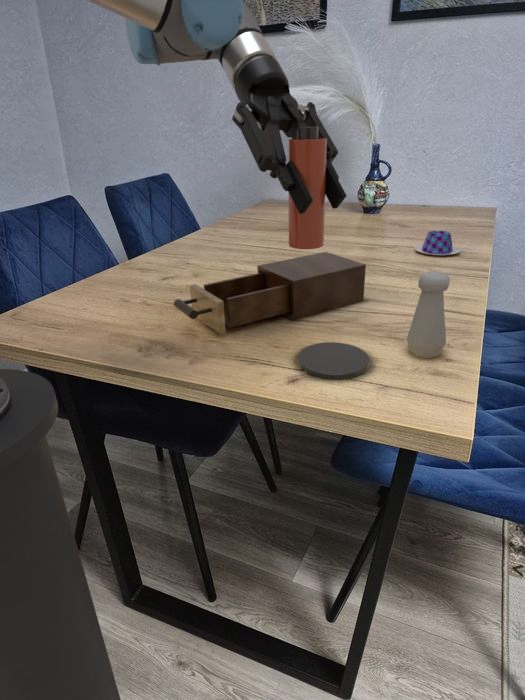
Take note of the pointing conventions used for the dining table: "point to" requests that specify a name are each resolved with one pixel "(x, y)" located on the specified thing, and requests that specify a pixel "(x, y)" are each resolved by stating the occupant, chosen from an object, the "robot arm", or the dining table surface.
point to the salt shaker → (429, 316)
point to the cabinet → (319, 282)
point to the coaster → (333, 360)
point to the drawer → (237, 301)
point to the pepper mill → (308, 188)
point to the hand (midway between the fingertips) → (323, 204)
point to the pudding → (437, 244)
